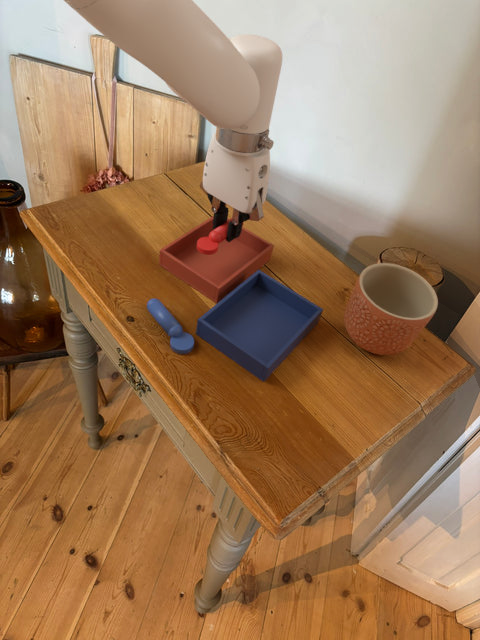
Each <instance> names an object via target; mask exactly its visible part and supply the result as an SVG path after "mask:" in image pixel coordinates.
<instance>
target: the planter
mask: <svg viewBox="0 0 480 640" xmlns="http://www.w3.org/2000/svg"><path fill="white" fill-rule="evenodd" d="M438 305H439V299H438V295H437V292H436V291H435V289H434V288H433V285H431V284H430V283H429V281H428V280H426V279H425V278H424V277H423V276H422V275H421V274H419V273H418V272H416V271H413V270H412V269H410V268H408V267H405V266H403V265H399V264H397V263H396V264H395V263H389V262H378V263H374V264H371V265H368V266H367V267H365V268H364V269H363V270H362V271H361V273H360V274H359V276H358V277H357V279H356V282H355V284H354V286H353V289H352V291H351V294H350V296H349V299H348V301H347V304H346V306H345V310H344V314H343V323H344V328H345V330H346V333H347V335H348V336H349V338H350V339H351V341H353V342H354V343H355V344H356V345H357V346H358V347H359V348H361V349H362V350H365V351H366V352H369V353H371V354H374V355H379V356H391V355H392V356H393V355H396V354H399V353H402V352H403V351H405V350H406V349H408V348H409V347H410V346H411V345H412V344H413V343H414V342H415V341H416V339H417V338H418V336H420V334H421V333H422V331H423V330H424V329H425V328H426V326H428V323H430V321H431V319H432V318H433V317H434V315H435V313H436V311H437V309H438V307H439V306H438Z"/></svg>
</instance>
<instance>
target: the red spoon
mask: <svg viewBox="0 0 480 640" xmlns="http://www.w3.org/2000/svg"><path fill="white" fill-rule="evenodd" d="M228 219H229V220H228V221H226V222H225V223H223V224H222V225H220V226H219V227H217V228H216V229H214V230H213V231H211V232H210V234H209V237H202V238H200V239H199V240H198V241H197V250H198V251H199V252H200V253H202V254H205V255H212V254H214V253H216V252H217V250H218V244H219V243H220V242H222V241H223V240H225V239H226V237H227V229H228V224H229V222H230V221H232V217H230V218H228ZM244 224H245V221H244V222H243V225H242V227H243V226H244Z"/></svg>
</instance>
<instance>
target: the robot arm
mask: <svg viewBox="0 0 480 640" xmlns="http://www.w3.org/2000/svg"><path fill="white" fill-rule="evenodd" d="M63 1H64V3H66V4H67V5H68V6H69V7H70V8H71V9H73V10H74V11H75V12H76V13H77V14H78V15H79V16H81V17H82V18H83V19H84V20H85V21H86V22H87V23H88V24H90V25H91V26H92V27H93V28H94V29H95V30H96V31H98V32H99V33H100V34H102V35H103V36H104V37H105V38H106V39H107V40H108V41H109V42H111V43H112V44H113V45H114V46H116V47H117V48H118V49H119V50H121V51H123V52H124V53H125V54H127V55H128V56H130V57H131V58H133V59H134V60H135V61H137V62H138V63H140V64H142V65H143V66H144V67H145V68H147V69H148V70H150V71H151V72H152V73H154V74H155V75H156V76H158V78H160V79H161V80H162V81H163V82H165V84H166V85H167V87H168V88H169V89H170V90H171V91H172V92H173V94H175V95H176V96H177V97H179V98H180V99H181V100H182V101H183V102H185V103H186V104H187V105H188V106H190V107H191V108H192V109H194V110H195V111H196V112H197V113H198V114H200V115H201V116H202V117H203V118H204V119H205V120H207V121H208V122H209V123H210V124H211V125H213V126H214V127H216V128H215V132H214V133H213V134H212V136H211V139H210V142H209V145H208V149H207V152H206V157H205V161H204V167H203V174H202V181H201V183H200V184H199V188H200V190H202V192H203V193H204V194H205V196H207V199H208V201H209V203H210V205H211V208H210V210H211V212H212V213H213V216H214V217H213V216H212V217H213V230H214V229H216V228H217V227H219V226H220V225H222V224H223V223H225V222H226V221H227V218H228V217H229V211H230V210H229V207H227V205H228V206H230V207H232V208H233V209H232V216H231V218H232V221H230V222H229V224H228V229H227V237H226V241H228V242H231V241H232V240H234V239H235V238H238V237H239V236H240V234H241V230H242V227H243V226H244V224H243V222H244V223H245V222H247V221H251V222H252V221H253V222H259V221H261V220H262V219H264V217H265V215H264V209H263V208H264V207H263V205H264V204H265V203H266V198H267V193H268V188H269V180H270V173H271V171H270V170H271V153H270V151H271V149H272V148H273V147H274V143H275V142H274V140H273V139H271V137H269V135H270V126H271V125H270V124H271V120H272V115H273V111H274V110H273V109H274V105H275V100H276V95H277V90H278V86H279V82H280V81H279V80H280V75H281V70H282V65H283V52H282V49H281V47H280V46H279V45H278V43H276V42H275V41H274V40H272V39H269V38H267V37H265V36H260V35H257V34H249V33H248V34H239V35H235V36H233V37H228V36H227V35H226V34H225V33H224V31H222V30H221V28H219V27H218V25H217V24H216V23H215V22H214V20H212V19H211V18H210V17H209V16H208V15H207V14H206V13H205V11H203V10H202V9H201V8H200V7H199V6H198V5H197V3H196V2H194V0H63ZM228 219H229V218H228ZM242 225H243V226H242ZM213 230H212V231H213Z"/></svg>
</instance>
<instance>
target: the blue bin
mask: <svg viewBox="0 0 480 640" xmlns="http://www.w3.org/2000/svg"><path fill="white" fill-rule="evenodd" d="M323 311H324V308H322V307H321V306H319V305H317V304H316V303H314V302H312V301H311V300H310V299H307V298H306V297H304V296H303V295H301V294H299V293H298V292H296V291H294V290H293V289H291V288H290V287H288V286H286V285H284V284H283V283H282V282H280V281H279V280H276V279H275V278H273V277H272V276H270V275H268V274H267V273H265V272H263V271H262V270H260V269H258V270H257V271H256V272H255V273H253V274H252V275H251V276H250V277H249V278H247V279H246V280H245V281H244V282H242V283H241V284H240V285H239V286H238V287H236V288H235V289H234V290H233V291H232V292H230V293H229V294H228V295H227V296H225V297H224V298H223V299H222V300H221V301H219V302H218V303H215V305H214V306H212V307H211V308H210V309H208V311H206V312H205V313H204V314H203V315H201V316H200V317H199V318H198V319H197V323H196V330H195V335H197V336H198V338H201V339H202V340H203V341H205V342H206V343H208V344H209V345H211V346H212V347H213V348H214V349H216V350H217V351H219V352H221V354H223V355H225V356H226V357H227V358H229V359H231V360H232V361H233V362H234V363H236V364H237V365H239V366H240V367H242V368H243V369H244V370H246V371H247V372H249V373H250V374H251V375H253V376H254V377H256V378H258V379H259V380H260V381H261V382H265V381H266V380H268V378H269V377H270V376H271V375H272V374H273V373H274V371H275V370H276V369H277V368H278V367H279V366H280V365H281V364H282V363H283V362H284V361H285V360H286V358H287V357H289V355H290V354H292V352H293V351H294V350H295V349H296V347H297V346H298V345H300V343H301V342H302V341H303V340H304V339H305V338H306V337H307V335H308V334H310V333H311V331H312V330H313V329H314V328H315V327H316V326H317V325H318V324H319V321H320V318H321V316H322V314H323Z"/></svg>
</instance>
